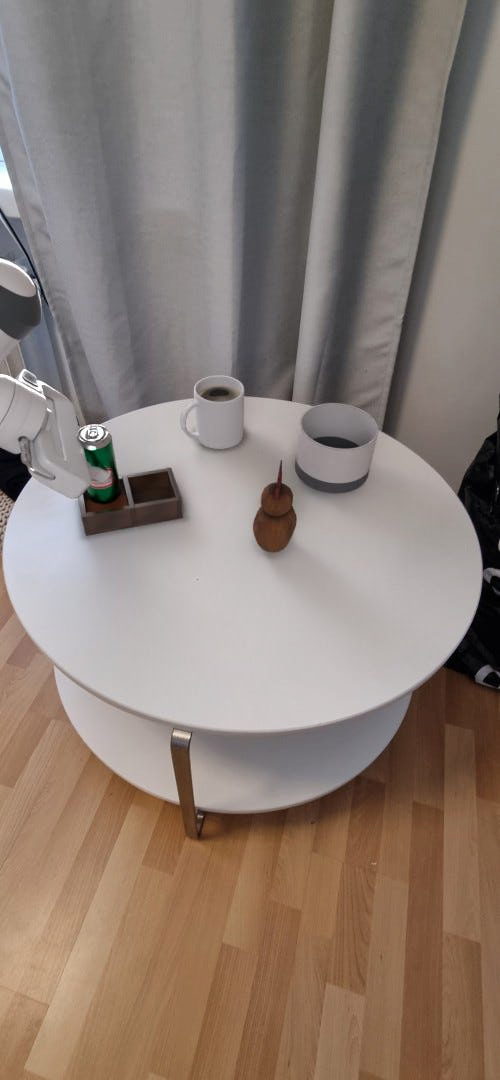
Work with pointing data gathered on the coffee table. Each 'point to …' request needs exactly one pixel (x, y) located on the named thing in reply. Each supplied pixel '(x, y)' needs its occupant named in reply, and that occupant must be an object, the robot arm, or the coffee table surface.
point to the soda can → (100, 463)
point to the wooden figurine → (275, 516)
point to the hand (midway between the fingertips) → (102, 462)
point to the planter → (335, 447)
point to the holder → (135, 503)
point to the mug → (216, 412)
